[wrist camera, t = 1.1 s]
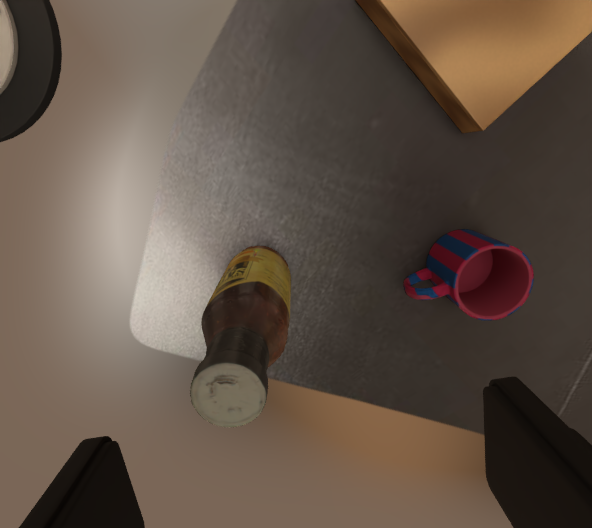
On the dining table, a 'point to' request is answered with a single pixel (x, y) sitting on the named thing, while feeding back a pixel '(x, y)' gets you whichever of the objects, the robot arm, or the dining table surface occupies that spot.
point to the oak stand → (480, 48)
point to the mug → (475, 275)
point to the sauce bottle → (242, 337)
